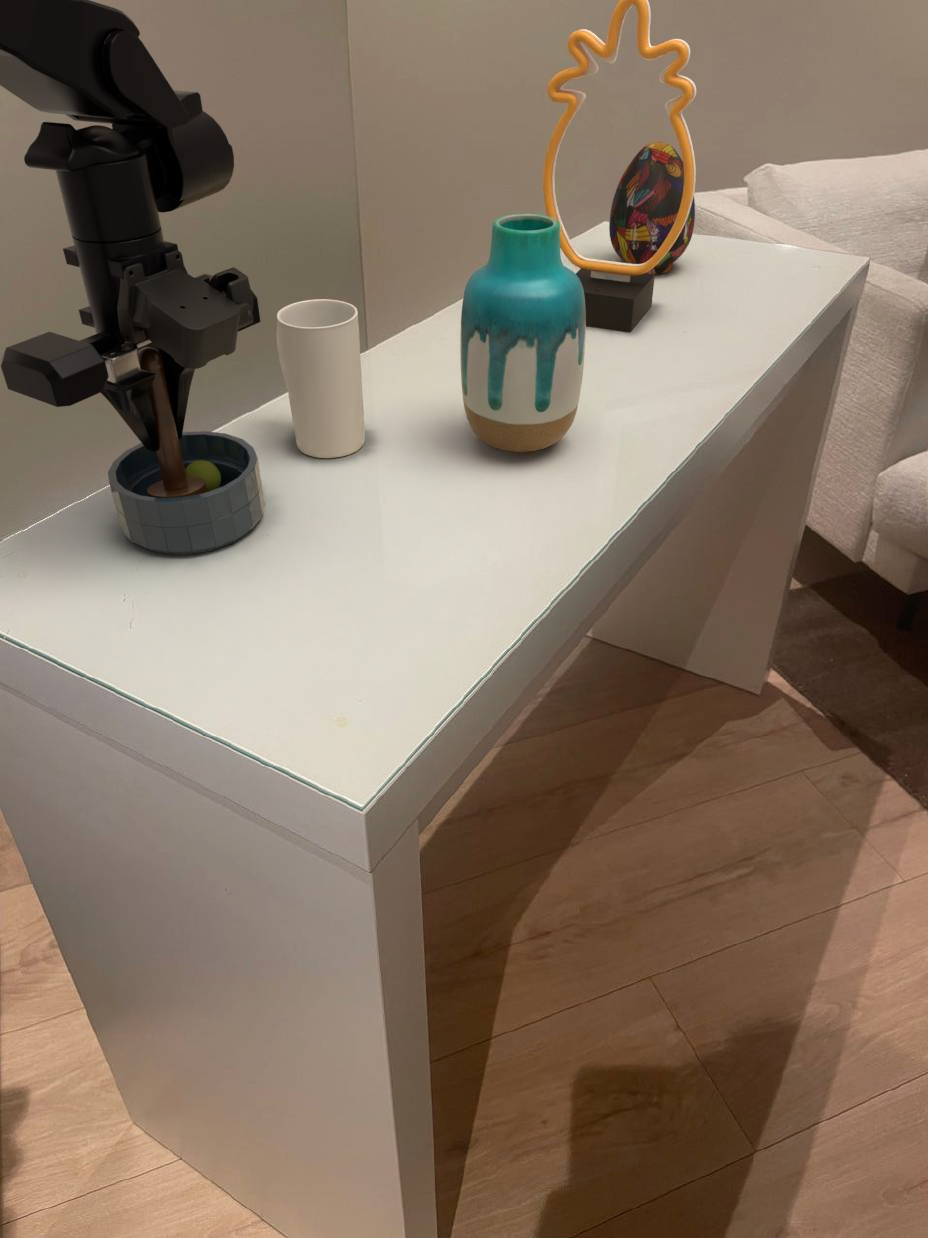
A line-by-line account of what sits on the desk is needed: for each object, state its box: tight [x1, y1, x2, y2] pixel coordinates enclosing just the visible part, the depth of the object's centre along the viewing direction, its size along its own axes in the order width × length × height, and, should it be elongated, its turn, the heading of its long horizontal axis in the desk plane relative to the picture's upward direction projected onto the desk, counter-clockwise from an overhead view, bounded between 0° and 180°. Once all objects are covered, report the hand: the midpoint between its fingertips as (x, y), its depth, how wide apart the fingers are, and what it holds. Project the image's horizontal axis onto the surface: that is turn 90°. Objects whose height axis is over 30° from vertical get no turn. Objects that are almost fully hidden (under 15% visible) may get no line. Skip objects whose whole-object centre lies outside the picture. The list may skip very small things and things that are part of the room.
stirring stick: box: [138, 347, 207, 498], centre depth 71 cm, size 4×4×12 cm
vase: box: [459, 213, 587, 453], centre depth 81 cm, size 11×11×19 cm
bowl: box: [107, 430, 266, 556], centre depth 75 cm, size 11×11×5 cm
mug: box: [276, 298, 366, 459], centre depth 84 cm, size 10×7×12 cm, turn 43°
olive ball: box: [185, 460, 221, 492], centre depth 78 cm, size 3×3×3 cm
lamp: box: [542, 0, 697, 333], centre depth 102 cm, size 17×9×32 cm, turn 66°
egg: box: [608, 141, 696, 276], centre depth 120 cm, size 11×11×15 cm
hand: (164, 444), depth 72 cm, fingers closed on stirring stick, 2 cm apart
